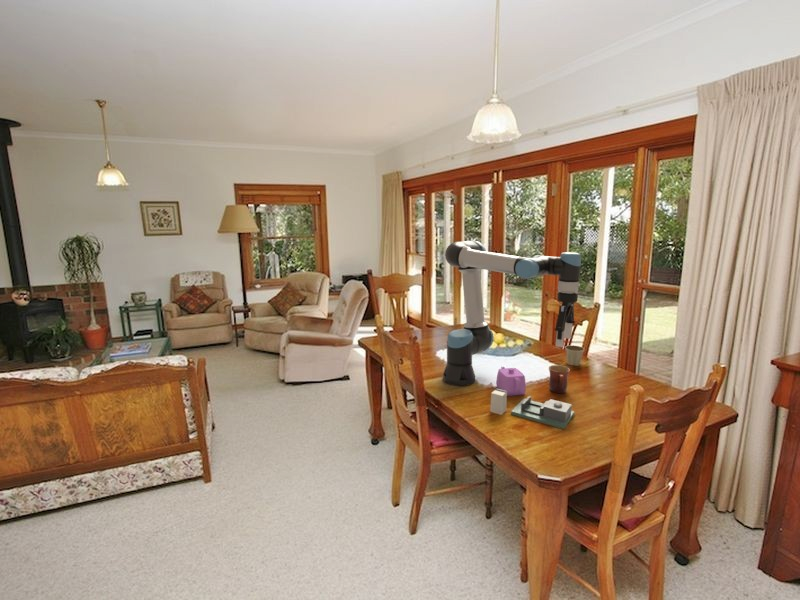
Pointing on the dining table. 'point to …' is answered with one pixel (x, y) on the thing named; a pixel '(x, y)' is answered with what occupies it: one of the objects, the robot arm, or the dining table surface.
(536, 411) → the board
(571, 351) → the flower pot
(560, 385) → the mug
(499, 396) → the light grey block
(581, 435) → the dining table surface
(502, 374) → the teapot
